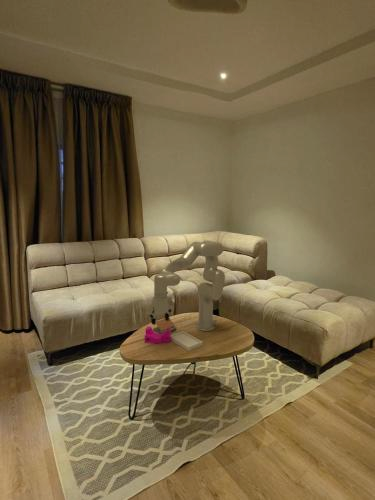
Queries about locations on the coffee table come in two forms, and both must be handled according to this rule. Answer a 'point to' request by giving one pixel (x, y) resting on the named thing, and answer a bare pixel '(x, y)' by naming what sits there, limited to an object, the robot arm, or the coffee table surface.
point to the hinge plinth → (163, 331)
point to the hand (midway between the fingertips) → (160, 322)
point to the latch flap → (164, 324)
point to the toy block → (157, 336)
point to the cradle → (186, 340)
